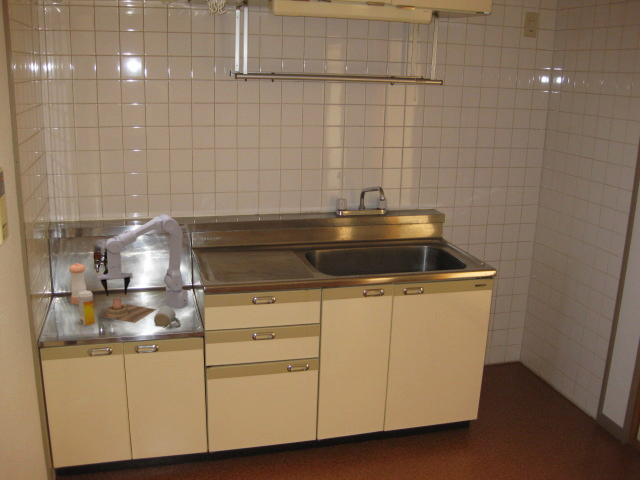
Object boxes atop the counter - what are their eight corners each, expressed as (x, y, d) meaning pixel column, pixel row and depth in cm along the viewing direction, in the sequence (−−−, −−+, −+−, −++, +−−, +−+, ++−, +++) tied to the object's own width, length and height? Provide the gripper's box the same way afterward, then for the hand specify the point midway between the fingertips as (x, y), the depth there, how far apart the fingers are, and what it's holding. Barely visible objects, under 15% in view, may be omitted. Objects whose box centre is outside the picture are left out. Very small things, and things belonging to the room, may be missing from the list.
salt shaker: (69, 301, 312) (66, 262, 307) (85, 298, 316) (82, 260, 311) (74, 305, 307) (71, 266, 301) (90, 302, 311) (87, 264, 306)
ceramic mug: (153, 328, 284) (152, 311, 282) (159, 321, 292) (158, 304, 290) (177, 330, 283) (177, 313, 281) (182, 322, 291) (182, 306, 289)
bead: (131, 311, 298) (131, 305, 297) (119, 319, 290) (119, 312, 289) (115, 309, 301) (114, 302, 300) (102, 315, 293) (102, 309, 292)
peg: (123, 313, 296) (122, 298, 295) (118, 315, 293) (117, 301, 291) (116, 311, 298) (115, 297, 296) (111, 314, 294) (111, 299, 292)
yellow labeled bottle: (97, 323, 288) (95, 291, 283) (88, 328, 282) (86, 295, 278) (86, 321, 289) (83, 289, 285) (77, 326, 284) (74, 293, 280)
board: (156, 311, 302) (156, 309, 302) (135, 325, 287) (134, 322, 286) (121, 305, 308) (121, 303, 308) (98, 318, 293) (98, 316, 292)
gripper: (130, 261, 295) (132, 289, 299) (96, 264, 290) (98, 293, 294) (132, 266, 289) (133, 295, 293) (97, 269, 284) (99, 298, 288)
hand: (116, 294), depth 293 cm, fingers open, 7 cm apart
